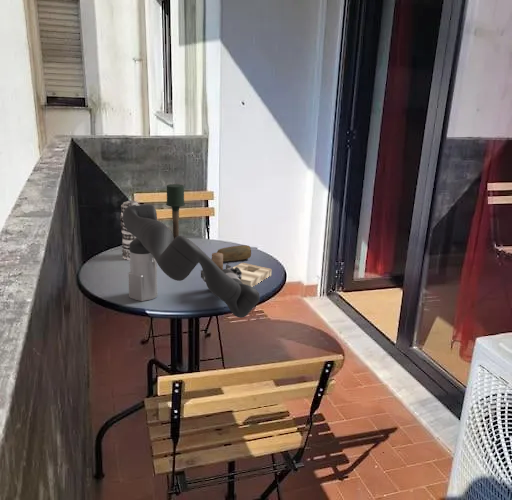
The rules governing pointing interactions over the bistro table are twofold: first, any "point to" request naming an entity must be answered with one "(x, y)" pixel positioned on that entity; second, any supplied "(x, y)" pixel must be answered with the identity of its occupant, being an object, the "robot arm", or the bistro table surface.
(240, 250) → the stone weight
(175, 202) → the potato masher grenade
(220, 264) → the peg
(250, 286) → the robot arm
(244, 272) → the board
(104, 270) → the bistro table surface
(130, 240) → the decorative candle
